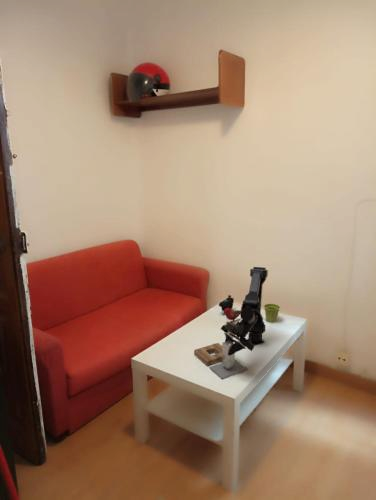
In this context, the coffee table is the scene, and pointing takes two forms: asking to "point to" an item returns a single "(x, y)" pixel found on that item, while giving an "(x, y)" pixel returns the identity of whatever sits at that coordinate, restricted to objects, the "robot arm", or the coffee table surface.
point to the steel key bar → (226, 359)
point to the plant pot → (271, 312)
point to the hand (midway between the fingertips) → (225, 353)
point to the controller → (227, 303)
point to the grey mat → (227, 370)
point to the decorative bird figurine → (232, 314)
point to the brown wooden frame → (205, 354)
